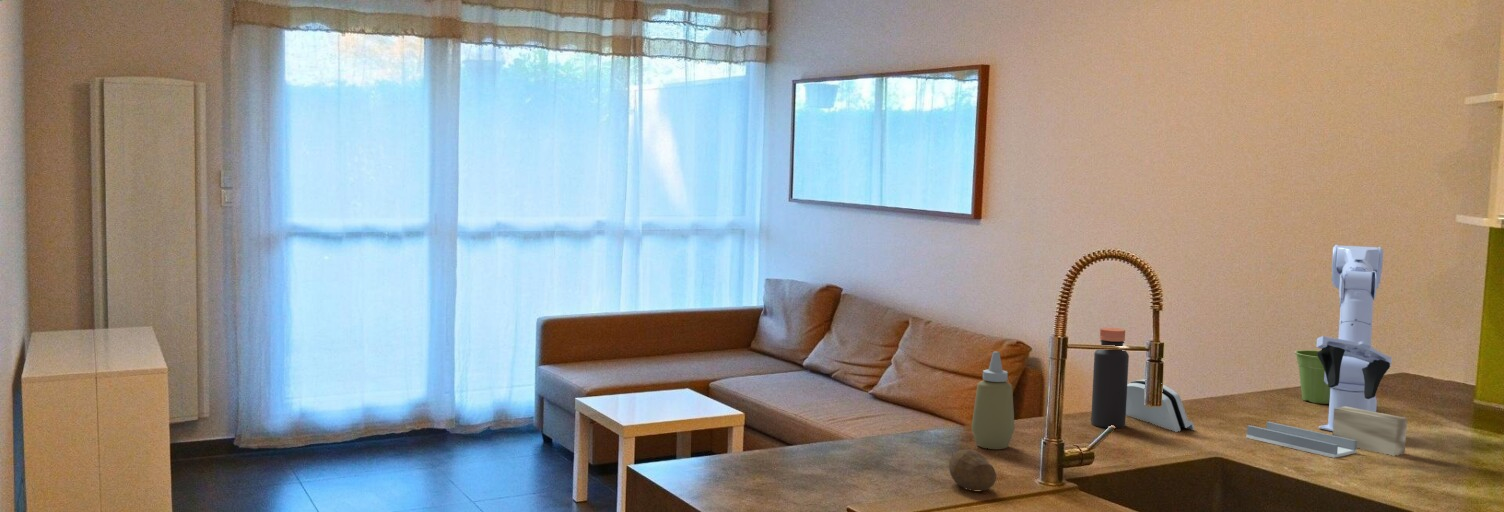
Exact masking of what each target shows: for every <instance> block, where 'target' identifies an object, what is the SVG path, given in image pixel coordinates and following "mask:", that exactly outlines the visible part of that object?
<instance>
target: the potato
mask: <svg viewBox="0 0 1504 512" xmlns="http://www.w3.org/2000/svg"><path fill="white" fill-rule="evenodd" d="M948 462H949V463H948V467H949V468H948V470H949V474H950V476H951V479H953V480H954V483H956V484H957V485H958V486H960V487H961V488H963V487H964V489H965V488H967V489H971V490H984V491H986V490H989V489H990V488H991V487H993V486H994V485H995V483H996V481H997V474H996V470H995V468H994V467H993V465H992V464H990V462H989V461H988V460H987V458H986V456H985V455H984V454H983V453H981V452H979V451H978V450H975V449H969V448H968V449H961V450H958V451H956V452H955V453H954V454H953V455H952V456H951V458H950V460H949V461H948ZM967 489H966V490H967ZM971 490H970V491H971Z"/></svg>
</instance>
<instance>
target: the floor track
mask: <svg viewBox="0 0 1504 512" xmlns="http://www.w3.org/2000/svg"><path fill="white" fill-rule="evenodd" d="M1245 438H1247V439H1250V440H1255V441H1258V442H1264V443H1269V444H1272V445H1276V446H1280V447H1285V448H1290V449H1294V450H1298V451H1302V452H1306V453H1311V454H1314V455H1321V456H1325V457H1328V458H1333V459H1335V458H1340V457H1345V456H1349V455H1353V454H1357V453H1358V449H1357V448H1356V447H1357V440H1352V439H1348V438H1343V437H1338V436H1334V435H1333V434H1330V433H1329V434H1327V433H1323V432H1319V431H1314V430H1310V429H1305V428H1300V427H1297V426H1292V425H1286V424H1282V423H1278V422H1272V421H1266V427H1259V426H1254V425H1247V426H1246V434H1245Z"/></svg>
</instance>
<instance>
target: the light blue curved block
mask: <svg viewBox="0 0 1504 512" xmlns="http://www.w3.org/2000/svg"><path fill="white" fill-rule="evenodd" d="M1145 380H1146V379H1137V380H1134V381H1131V382H1129V383H1127V400H1126V416H1128V417H1132V418H1135V419H1136V418H1137V419H1136V420H1139V419H1141V420H1140V421H1142V420H1143V421H1142V422H1145V421H1146V423H1148V422H1150V423H1149V424H1151V423H1152V424H1151V425H1154V424H1155V425H1154V426H1157V425H1158V427H1160V426H1161V428H1163V427H1164V428H1163V429H1166V428H1167V429H1166V430H1168V429H1169V431H1171V430H1172V431H1171V432H1174V431H1175V433H1177V432H1178V431H1179V432H1181V429H1182V428H1184V429H1187V430H1190V429H1191V430H1190V431H1193V430H1194V431H1196V430H1195V424H1194V422H1193V421H1191V420H1189V419H1188V416H1187V413H1186V411H1185V407H1184V404H1183V401H1182V397H1181V396H1180V395H1179V394H1178V393H1177V392H1176V391H1175V390H1173V389H1172V388H1171V387H1168V385H1165V384H1163V392H1162V406H1161V407H1146V406H1145V405H1144V388H1145ZM1179 432H1178V433H1179Z"/></svg>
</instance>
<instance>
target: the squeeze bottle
mask: <svg viewBox="0 0 1504 512" xmlns="http://www.w3.org/2000/svg"><path fill="white" fill-rule="evenodd" d="M1008 375H1009V373H1008V371H1007V370H1003V364H1002V360H1001V355H1000V351H993V352H992V355H991V359H990V361H989V366H988V369H983V370H982V380H980V381H979V382H977V386H976V391H975V392H976V393H975V398H974V399H975V400H974V407H973V414H972V421H971V430H972V433H973V437H974V440H975V444H976V446H978V447H980V448H983V449H987V448H988V450H1003V449H1004V450H1005V449H1007V448H1008V447H1009V445H1010V442H1011V440H1012V437H1013V434H1014V431H1015V411H1014V396H1013V395H1014V394H1013V392H1014V391H1013V385H1012V384H1011V382H1008V380H1009V379H1008V377H1009V376H1008Z"/></svg>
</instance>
